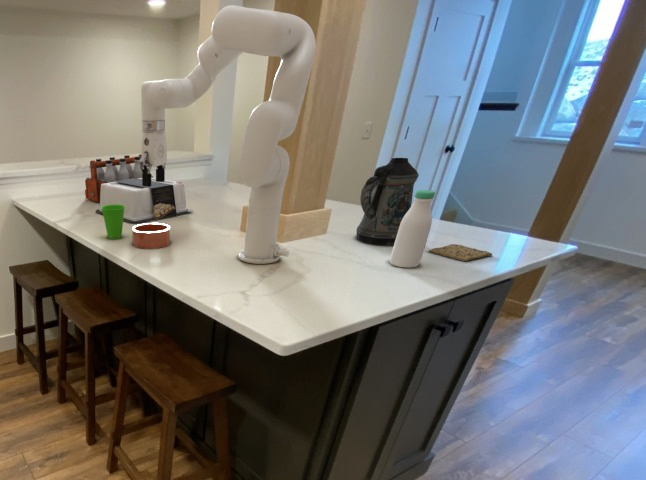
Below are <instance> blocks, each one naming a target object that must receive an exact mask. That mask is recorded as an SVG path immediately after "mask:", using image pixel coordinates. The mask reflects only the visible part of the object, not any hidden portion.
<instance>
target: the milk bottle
mask: <svg viewBox="0 0 646 480" xmlns="http://www.w3.org/2000/svg"><path fill="white" fill-rule="evenodd" d="M435 195H436V191H434V190H429V189H418V190H415V193H414V197H413V201H412V204H411V208H410V209H409V210H408V212H407V213H406V214H405V216H404V217H403V219H402V221H401V223H400V227H399V230H398V233H397V236H396V240H395V243H394V246H392V247H393V248H392V251H391V254H390V258H389V263H390V264H391V265H392V266H394V267H395V266H396V267H400V268H416V267H418V266H419V265H420V263H421V261H422V257H423V254H424V251H425V248H426V245H427V241H428V238H429V235H430V231H431V229H432V222H433V216H432V215H433V214H432V209H431V208H432V201H433V200H434V197H435Z"/></svg>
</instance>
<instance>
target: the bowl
mask: <svg viewBox="0 0 646 480" xmlns="http://www.w3.org/2000/svg"><path fill="white" fill-rule="evenodd" d="M131 233H132V236H131V237H132V245H133V246H134V247H135V248H139V249H145V250H148V249H149V250H151V249H154V250H155V249H160V248H165V247H168V246H169V245H170V244H171V226H170V225H168V224H165V223H159V222H151V223H141V224H140V223H139V224H137V225H134V226H132V228H131Z"/></svg>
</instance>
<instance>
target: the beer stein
mask: <svg viewBox="0 0 646 480" xmlns="http://www.w3.org/2000/svg"><path fill="white" fill-rule="evenodd" d="M419 174H420V173H419V172H418V171H417V170H416V168H414V167H413V166H412V164H411V163H410V162H409V158H408V157H393V158H390V160H389V162H388V163H387V164H386V165H381V166H379V167H376V168H375V170H374V172H373V176H371V177H370V178H368V179H367V180H366V181H365V183H364V184H363V186H362V189H361V191H360V198H359V199H360V206H361V209H362V212H363V213H364V214H363V216H362V219H361V221H360V223H359V224H358V226H357V227H356V230H355V231H356V240H357V241H359V242H361V243H363V244H367V245H373V246H383V247H394V243H395V240H396V236H397V233H398V230H399V227H400V223H401V221H402V219H403V217H404V216H405V214H406V213H407V212H408V210H409V209H410V208H411V206H412V204H413V194H414V186H415V183H416V182H417V181H418V179H419V176H420V175H419Z"/></svg>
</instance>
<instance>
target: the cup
mask: <svg viewBox="0 0 646 480" xmlns="http://www.w3.org/2000/svg"><path fill="white" fill-rule="evenodd" d="M124 208H125V206H124V205H117V204H116V205H106V206H102V207H101V209H102V212H103V214H102V217H103V220H104V225H105V230H106V234H107V238H108V239H110V240H118V239H121V238H122V235H123V226H124V221H123V217H124Z"/></svg>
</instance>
